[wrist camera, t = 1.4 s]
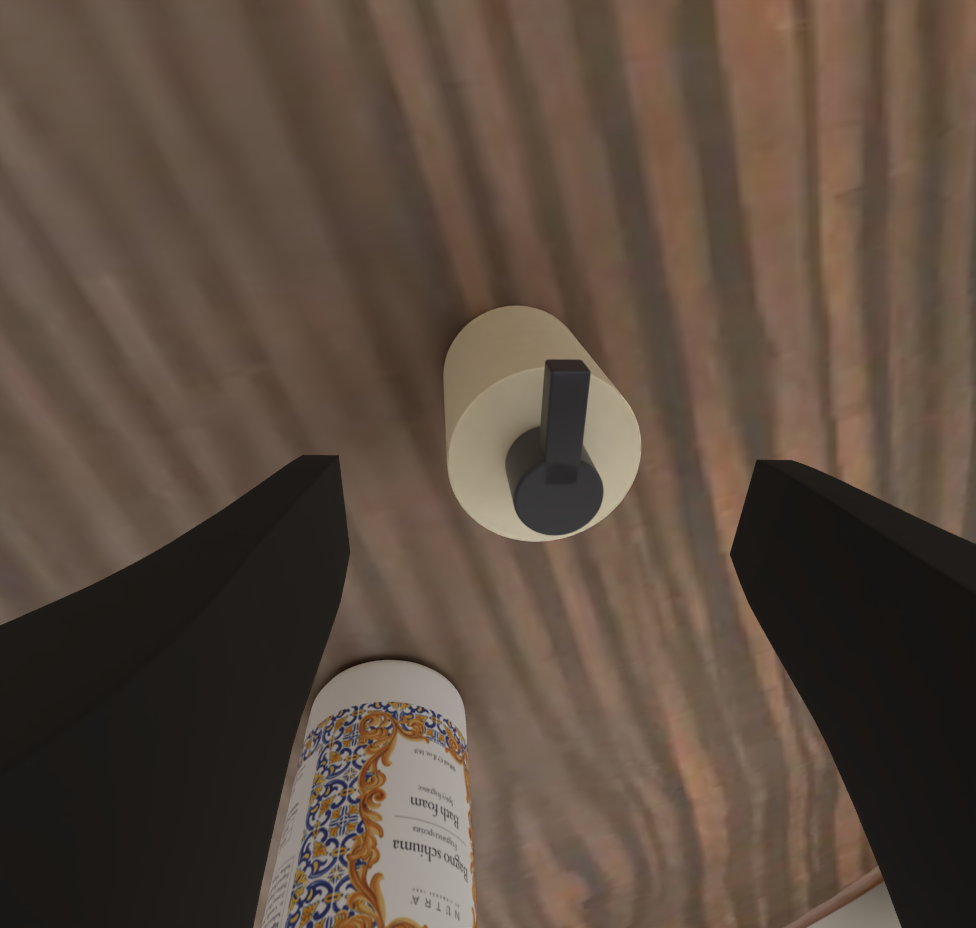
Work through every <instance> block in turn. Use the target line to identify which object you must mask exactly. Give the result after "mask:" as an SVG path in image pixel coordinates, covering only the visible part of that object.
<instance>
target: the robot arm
mask: <svg viewBox="0 0 976 928" xmlns="http://www.w3.org/2000/svg"><path fill="white" fill-rule="evenodd" d="M349 555H350V547H349V538H348V530H347V521H346V513H345V505H344V496H343V488H342V479H341V471H340V462H339V455H302V456H300V457H299V458H297V459H295V460H294V461H292V462H290V463H289V464H287V465H286V466H284V467H283V468H282V469H280V470H279V471H277V472H276V473H274V474H273V475H272V476H270V477H269V478H267V479H266V480H265V481H263V482H262V483H260V484H259V485H258V486H256V487H255V488H253V489H252V490H250V491H249V492H247V493H246V494H245V495H243V496H242V497H240V498H239V499H237V500H236V501H235V502H233V503H232V504H230V505H229V506H227V507H226V508H224V509H223V510H221V511H220V512H218V513H217V514H215V515H214V516H212V517H210V518H209V519H207V520H206V521H204V522H202V523H201V524H199V525H198V526H196V527H195V528H193V529H191V530H190V531H188V532H187V533H185V534H183V535H182V536H180V537H179V538H177V539H175V540H174V541H172V542H171V543H169V544H167V545H166V546H164V547H162V548H161V549H159V550H157V551H155V552H154V553H152V554H150V555H148V556H146V557H145V558H143V559H141V560H139V561H137V562H135V563H134V564H132V565H130V566H128V567H126V568H124V569H122V570H120V571H118V572H116V573H114V574H112V575H110V576H108V577H106V578H104V579H103V580H101V581H99V582H97V583H95V584H92V585H90V586H88V587H86V588H84V589H82V590H80V591H77V592H75V593H73V594H71V595H68V596H66V597H64V598H62V599H59V600H57V601H55V602H53V603H50V604H48V605H46V606H44V607H41V608H39V609H37V610H34V611H32V612H30V613H28V614H25V615H23V616H21V617H19V618H16V619H14V620H12V621H10V622H7V623H5V624H3V625H0V928H253V925H254V920H255V915H256V910H257V905H258V900H259V895H260V890H261V885H262V880H263V875H264V871H265V866H266V861H267V857H268V852H269V847H270V843H271V838H272V834H273V829H274V824H275V820H276V815H277V810H278V806H279V802H280V797H281V793H282V789H283V785H284V780H285V776H286V772H287V767H288V763H289V759H290V755H291V750H292V746H293V743H294V739H295V736H296V733H297V729H298V726H299V723H300V719H301V716H302V713H303V710H304V707H305V704H306V702H307V699H308V696H309V693H310V690H311V687H312V684H313V681H314V678H315V675H316V673H317V670H318V667H319V664H320V661H321V658H322V655H323V652H324V649H325V646H326V643H327V641H328V638H329V635H330V632H331V629H332V626H333V623H334V620H335V617H336V614H337V611H338V608H339V605H340V601H341V597H342V592H343V587H344V582H345V577H346V572H347V566H348V561H349ZM730 556H731V559H732V562H733V564H734V567H735V570H736V573H737V575H738V578H739V581H740V584H741V586H742V588H743V591H744V593H745V596H746V598H747V601H748V603H749V605H750V607H751V609H752V611H753V612H754V614H755V616H756V618H757V620H758V622H759V623H760V625H761V627H762V629H763V631H764V632H765V634H766V636H767V638H768V640H769V641H770V643H771V645H772V647H773V648H774V650H775V652H776V654H777V655H778V657H779V659H780V661H781V662H782V664H783V666H784V668H785V669H786V671H787V673H788V675H789V676H790V678H791V680H792V682H793V683H794V685H795V687H796V689H797V690H798V692H799V694H800V696H801V697H802V699H803V701H804V703H805V704H806V706H807V708H808V710H809V711H810V713H811V715H812V717H813V718H814V720H815V722H816V724H817V726H818V728H819V730H820V732H821V734H822V736H823V738H824V740H825V742H826V744H827V746H828V748H829V750H830V752H831V755H832V757H833V759H834V761H835V764H836V766H837V768H838V770H839V773H840V775H841V777H842V780H843V782H844V784H845V786H846V789H847V791H848V793H849V795H850V798H851V800H852V802H853V804H854V807H855V809H856V812H857V814H858V817H859V819H860V822H861V824H862V826H863V829H864V831H865V834H866V836H867V839H868V841H869V844H870V846H871V849H872V851H873V854H874V856H875V858H876V861H877V863H878V866H879V868H880V871H881V873H882V876H883V878H884V881H885V884H886V886H887V889H888V892H889V894H890V897H891V900H892V903H893V905H894V908H895V911H896V913H897V916H898V919H899V922H900V924H901V927H902V928H976V544H974V543H972V542H970V541H968V540H965V539H963V538H961V537H958V536H956V535H954V534H952V533H949V532H947V531H945V530H943V529H941V528H939V527H937V526H934V525H932V524H930V523H928V522H926V521H924V520H922V519H919V518H917V517H915V516H913V515H911V514H909V513H907V512H905V511H903V510H901V509H899V508H897V507H894V506H892V505H890V504H888V503H886V502H884V501H882V500H880V499H878V498H876V497H874V496H872V495H870V494H868V493H866V492H864V491H862V490H860V489H857V488H855V487H853V486H851V485H849V484H847V483H845V482H843V481H841V480H839V479H837V478H834V477H832V476H830V475H828V474H826V473H823V472H821V471H819V470H817V469H814V468H812V467H809V466H807V465H804V464H801V463H798V462H796V461H792V460H757V461H756V464H755V468H754V471H753V475H752V478H751V482H750V485H749V489H748V492H747V496H746V499H745V503H744V506H743V510H742V513H741V517H740V520H739V524H738V527H737V531H736V534H735V538H734V541H733V545H732V548H731V552H730Z"/></svg>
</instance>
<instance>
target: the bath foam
mask: <svg viewBox="0 0 976 928" xmlns="http://www.w3.org/2000/svg"><path fill="white" fill-rule="evenodd" d="M261 928H478V920H477V903H476V885H475V868H474V850H473V833H472V815H471V798H470V781H469V763H468V749H467V736H466V719H465V710H464V705H463V702H462V699H461V697H460V695H459V693H458V691H457V690H456V688H455V687H454V686H453V685H452V684H451V682H450V681H448V680H447V679H446V678H445V677H444V676H442V675H441V674H439V673H438V672H436V671H434V670H433V669H430V668H428V667H426V666H423V665H420V664H417V663H413V662H408V661H401V660H379V661H372V662H367V663H363V664H359V665H356V666H354V667H351V668H349V669H347V670H345V671H343V672H341V673H340V674H338V675H337V676H335V677H334V678H333V679H332V680H331V681H330V682H329V683H327V684H326V685H325V686H324V688H323V689H322V690H321V691H320V692H319V694H318V695H317V697H316V699H315V701H314V703H313V706H312V709H311V712H310V716H309V721H308V725H307V730H306V734H305V738H304V743H303V746H302V750H301V754H300V759H299V763H298V767H297V772H296V776H295V781H294V785H293V790H292V794H291V798H290V803H289V807H288V812H287V816H286V821H285V825H284V829H283V834H282V838H281V843H280V847H279V851H278V856H277V860H276V865H275V869H274V874H273V878H272V882H271V887H270V891H269V896H268V900H267V905H266V909H265V913H264V918H263V922H262V927H261Z"/></svg>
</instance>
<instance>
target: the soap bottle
mask: <svg viewBox="0 0 976 928" xmlns="http://www.w3.org/2000/svg"><path fill="white" fill-rule="evenodd" d="M443 383H444V405H445V427H446V449H447V467H448V475H449V480H450V484H451V487H452V489H453V492H454V494H455V496H456V498H457V499H458V501H459V503H460V505H461V506H462V507H463V508H464V510H465V511H466V512H467V513H468V514H469V515H470V516H471V517H472V518H473V519H474V520H475V521H476V522H478V523H479V524H481V525H482V526H483V527H485V528H487V529H488V530H490V531H492V532H494V533H496V534H499V535H501V536H504V537H507V538H511V539H515V540H522V541H534V542H540V541H551V540H557V539H562V538H565V537H569V536H572V535H575V534H577V533H579V532H582V531H584V530H586V529H588V528H590V527H591V526H593V525H595V524H596V523H598V522H599V521H601V520H602V519H604V518H605V517H606V516H607V515H608V514H609V513H611V512H612V511H613V510H614V509H615V508H616V506H617V505H618V504H619V503H620V502H621V501H622V499H623V498H624V497H625V495H626V494H627V492H628V491H629V489H630V487H631V485H632V483H633V481H634V479H635V476H636V473H637V471H638V466H639V462H640V456H641V436H640V431H639V426H638V423H637V420H636V417H635V415H634V413H633V411H632V409H631V407H630V406H629V404H628V403H627V401H626V400H625V399H624V397H623V396H622V395H621V394H620V392H619V391H618V390H617V389H616V387H615V386H614V385H613V384H612V382H611V381H610V380H609V379H608V378H607V376H606V375H605V374H604V373H603V371H602V370H601V369H600V368H599V366H598V365H597V364H596V363H595V361H594V360H593V359H592V358H591V356H590V355H589V354H588V353H587V352H586V350H585V349H584V348H583V347H582V345H581V344H580V343H579V342H578V340H577V339H576V338H575V337H574V335H573V334H572V333H571V332H570V330H569V329H568V328H567V327H566V326H565V325H564V324H563V323H562V322H561V321H560V320H558V319H557V318H555V317H554V316H553V315H551V314H549V313H547V312H545V311H542V310H540V309H537V308H533V307H528V306H505V307H500V308H496V309H493V310H490V311H488V312H486V313H484V314H481V315H480V316H478V317H476V318H475V319H473V320H472V321H471V322H470V323H468V324H467V325H466V326H465V327H464V328H463V329H462V330H461V331H460V332H459V334H458V335H457V336H456V338H455V339H454V341H453V342H452V344H451V346H450V348H449V350H448V353H447V356H446V359H445V364H444V373H443Z"/></svg>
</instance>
